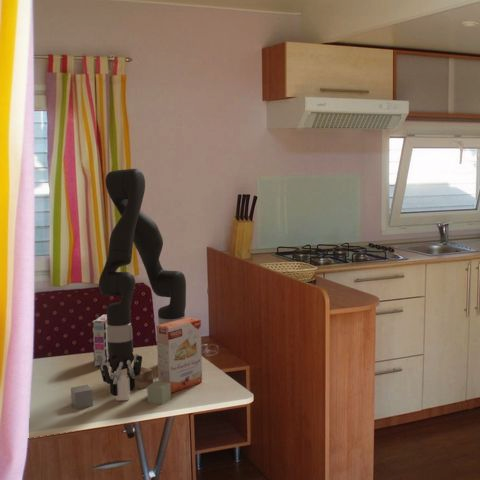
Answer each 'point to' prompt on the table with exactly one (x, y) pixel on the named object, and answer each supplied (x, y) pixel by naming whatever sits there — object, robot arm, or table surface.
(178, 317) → the robot arm
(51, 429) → the table surface
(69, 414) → the table surface
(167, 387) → the sage green block
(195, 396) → the table surface
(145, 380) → the walnut block
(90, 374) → the table surface
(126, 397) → the salt shaker
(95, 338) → the candy bar box
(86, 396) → the slate grey block
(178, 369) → the cracker box
